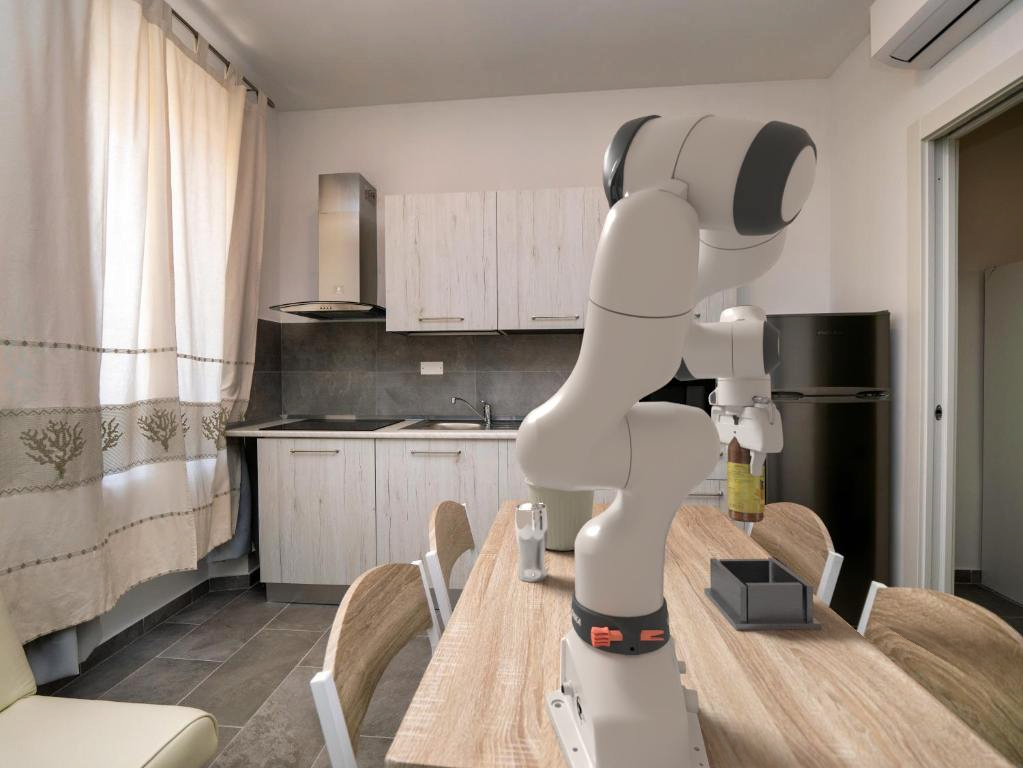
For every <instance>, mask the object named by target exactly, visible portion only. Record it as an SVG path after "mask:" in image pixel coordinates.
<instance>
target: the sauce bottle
mask: <svg viewBox="0 0 1023 768" xmlns="http://www.w3.org/2000/svg"><path fill="white" fill-rule="evenodd" d="M733 419H734V425H738V420H739V417H737V415H733ZM734 433H736V431H734ZM727 451H728V453H727V462H726V477H727V478H726V489H727V491H726V493H727V494H726V495H727V496H726V497H727V509H728V513H727V514H728V517H729V518H730V519H732V520H734V521H737V522H743V523H755V524H756V523H759V522H762V521H763V520H764V518H765V515H764V513H765V512H766V510H765V509H766V506H765V505H766V502H765V501H766V499H765V497H766V496H765V494H766V493H765V492H766V490H765V489H766V488H765V485H766V483H765V479H766V478H765V477H766V476H765V475H766V473H765V462H764V463H763V465H762V475H761V476H753V475H751V474H749V473H748V470H749V469H748V465H750V463H751V458H752V456H750V449H746V448H742V447H741V446H740V444H739V442H738V440H737V438H736V437H735V436H734V437H733V439H732V440H731V442H730V443H729V445H728V449H727V450H726V452H727Z"/></svg>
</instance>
